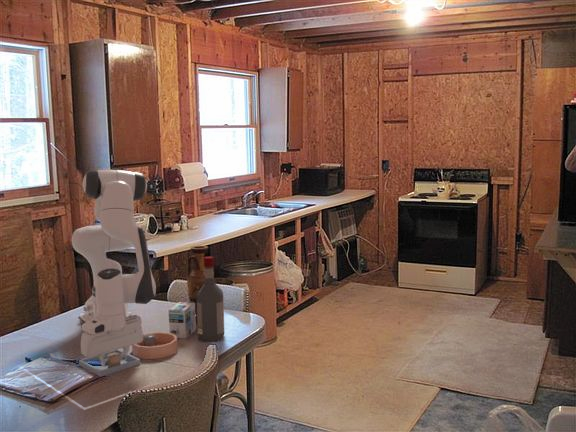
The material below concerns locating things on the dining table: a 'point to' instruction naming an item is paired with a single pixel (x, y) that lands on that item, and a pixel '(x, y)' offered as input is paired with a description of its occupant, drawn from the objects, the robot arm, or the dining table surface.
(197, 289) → the vase
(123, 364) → the parts tray
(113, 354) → the tan wooden cube
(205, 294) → the liquor
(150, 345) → the grey cube
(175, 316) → the light bulb box
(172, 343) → the bowl
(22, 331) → the dining table surface
